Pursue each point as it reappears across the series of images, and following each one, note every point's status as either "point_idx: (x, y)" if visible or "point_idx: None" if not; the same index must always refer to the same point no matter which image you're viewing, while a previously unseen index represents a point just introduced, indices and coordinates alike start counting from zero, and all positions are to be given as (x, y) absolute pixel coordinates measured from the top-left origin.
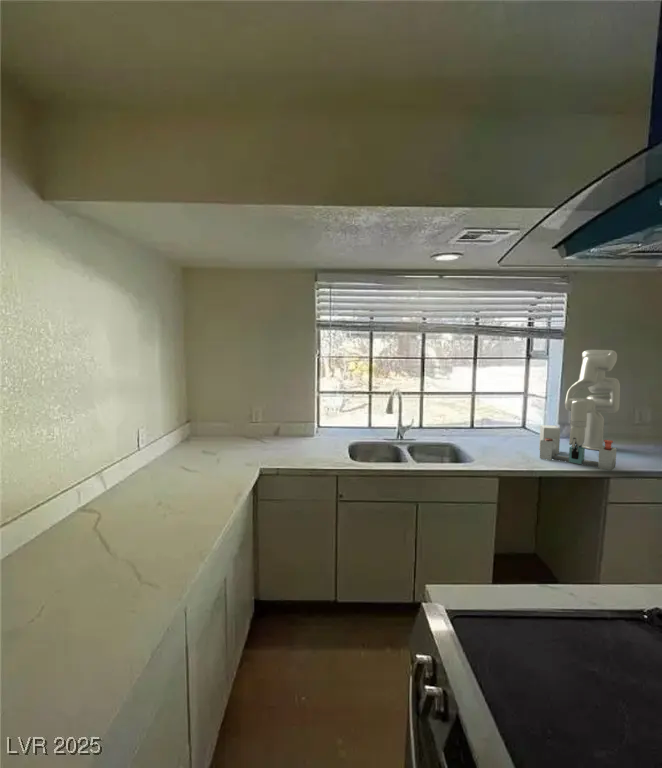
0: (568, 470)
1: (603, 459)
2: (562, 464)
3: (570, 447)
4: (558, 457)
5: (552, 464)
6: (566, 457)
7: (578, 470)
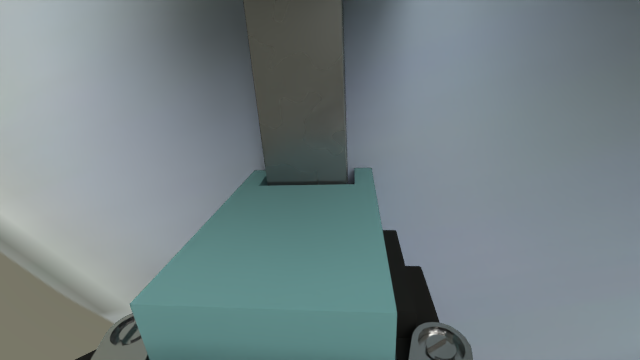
0: (6, 246)
1: None
2: (132, 142)
3: (147, 320)
4: (249, 24)
5: (30, 56)
6: (296, 134)
7: (82, 299)
